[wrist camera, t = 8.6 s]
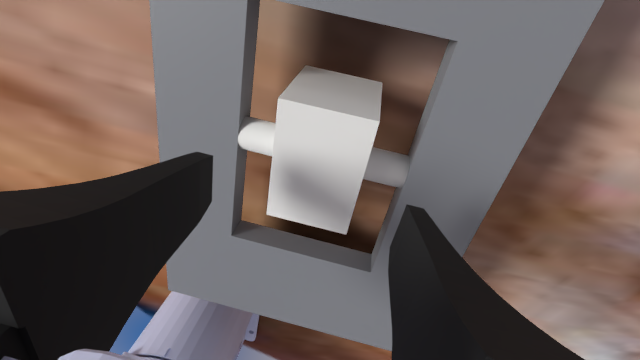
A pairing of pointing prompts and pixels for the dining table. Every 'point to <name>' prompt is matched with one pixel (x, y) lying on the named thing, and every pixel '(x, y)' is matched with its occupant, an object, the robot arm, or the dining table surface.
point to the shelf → (383, 166)
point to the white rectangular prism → (322, 147)
